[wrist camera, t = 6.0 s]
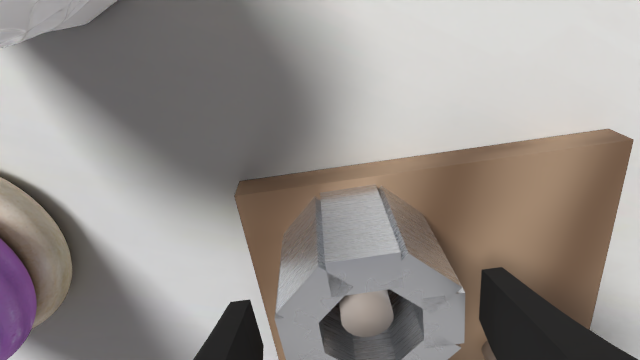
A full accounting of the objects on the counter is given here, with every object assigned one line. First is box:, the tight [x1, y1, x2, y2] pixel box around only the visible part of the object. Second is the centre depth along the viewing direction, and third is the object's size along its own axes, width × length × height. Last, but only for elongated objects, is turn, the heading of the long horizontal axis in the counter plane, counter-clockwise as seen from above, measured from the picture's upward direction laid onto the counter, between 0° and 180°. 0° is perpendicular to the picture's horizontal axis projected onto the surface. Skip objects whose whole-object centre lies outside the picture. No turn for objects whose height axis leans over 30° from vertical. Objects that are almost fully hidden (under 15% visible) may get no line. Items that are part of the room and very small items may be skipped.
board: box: [234, 129, 633, 360], centre depth 15 cm, size 14×12×5 cm
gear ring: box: [275, 184, 465, 360], centre depth 13 cm, size 5×5×4 cm
